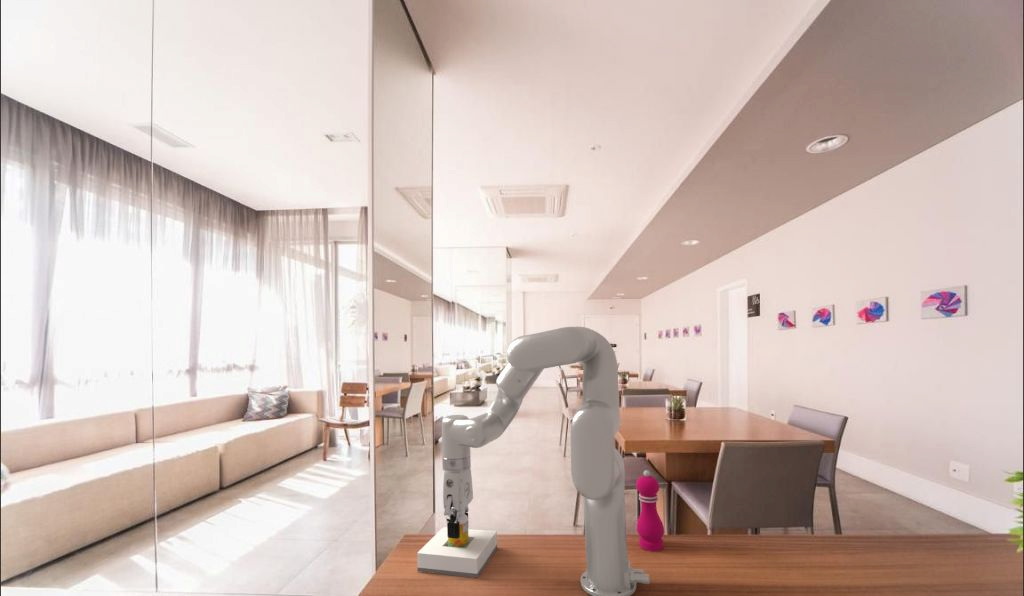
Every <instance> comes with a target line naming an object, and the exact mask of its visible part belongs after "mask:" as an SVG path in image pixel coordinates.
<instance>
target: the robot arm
mask: <svg viewBox="0 0 1024 596" xmlns="http://www.w3.org/2000/svg"><path fill="white" fill-rule="evenodd" d="M508 345H509V346H508V348H507V351H506V352H507V353H506V356H507V357H506V358H507V361H508V362H507V363H506V364H505V366H504V368H503V369H502V370H501V372H500V373H499V375H498V376H497V377H496V380H495V385H496V387H497V388H498V391H497V395H496V396H495V398H494V400H493V402H492V403H491V405H490V406H489V408H488V409H487V410H486V411H485V412H484V413H483V414H480V415H477V416H475V417H471V418H469V417H468V416H467V415H464V414H452V415H447V416H445V417H443V418H442V420H441V448H442V449H441V450H442V452H441V453H442V455H441V456H442V457H441V459H442V460H441V461H442V471H444V472H443V485H442V486H443V487H442V489H443V491H442V498H443V499H442V500H443V501H442V505H443V509H444V511H443V516H444V517H445V519H446V523H447V524H446V527H447V535H448V538H455V539H458V538H459V537H460V526H459V522H458V515H459V512H461V511H462V510H463V509H464V508H465V515H467V517H468V518H469V510H470V509H469V505H470V503H471V502H472V500H473V499H474V492H473V490H474V489H473V479H472V477H473V476H472V470H471V467H472V464H471V461H472V460H471V448H474V449H478V448H482V447H484V446H486V445H488V444H489V443H492V442H493V441H495V440H497V439H499V438H500V437H501V436H502V435H503V434H504V433H505V432H506V430H507V428H508V427H510V426H509V425H510V424H511V423H512V422H513V421H514V419H515V417H516V415H518V414H517V413H518V412H519V410H520V408H521V406H522V404H523V401H524V398H525V397H526V395H527V394H528V392H529V391H530V389H531V388H532V387H533V385H534V383H535V382H536V381H537V380H538V378H539V376H540V375H541V374H542V372H543V371H544V369H550V368H555V367H561V366H566V365H572V364H573V365H574V364H576V363H581V365H582V381H581V383H582V384H581V385H582V403H581V406H580V407H578V409H577V410H576V412H574V414H573V416H572V419H571V423H570V424H571V425H570V472H571V480H572V483H573V486H574V488H575V489H576V491H577V492H578V493H579V495H581V496H582V497H583V518H584V520H583V522H584V535H585V536H584V539H585V543H584V544H585V557H586V558H585V559H586V562H585V563H586V570H585V571H584V572H583V573H582V574H581V576H580V586H581V588H582V589H583V591H584V592H585V593H587V594H588V595H590V596H632V595H633V594H635V592H636V591H637V583H638V584H639V583H641V584H644V585H650V582H651V581H650V574H649V573H644V571H645V570H644V569H642V568H634V567H631V560H629V555H628V554H629V551H628V539H627V521H626V502H625V501H626V497H625V494H626V492H625V490H626V489H625V488H626V487H625V482H626V480H625V479H626V477H625V476H626V475H625V473H626V470H625V469H626V468H625V463H624V459H623V457H622V454H621V453H620V452H619V450H618V449H617V448H616V447H615V437H616V434H617V433H618V432H619V429H620V427H621V413H620V388H619V371H618V369H619V368H618V360H617V356H616V352H615V351H614V348H613V346H612V345H611V343H610V342H609V341H608V340H607V338H606V337H605V336H604V335H602V334H601V333H600V332H597V331H596V330H594V329H591V328H588V327H584V326H564V327H560V328H555V329H550V330H545V331H541V332H538V333H537V332H535V333H532V334H525V335H521V336H518V337H516V338H514V339H513V340H512V341H511V343H509V344H508ZM452 507H454V508H455V509H452ZM451 512H455V516H454V515H453V514H452V513H451Z"/></svg>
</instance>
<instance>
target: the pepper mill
mask: <svg viewBox="0 0 1024 596" xmlns="http://www.w3.org/2000/svg"><path fill="white" fill-rule="evenodd" d="M635 483H636V485H635V487H636V490H637V491H638V492H639V494H638V500H639V501H640V505H641V509H640V514H639V517H638V519H637V523H636V532H637V533H638V536H639V537H638V542H639V547H640V549H643V550H645V551H648V552H649V551H650V552H659V551H661V550H663V549H664V540H663V538H662V537H663V536H664V534H665V526H664V524H663V520H662V519H661V517H660V514H659V513H658V510H657V502H658V501H659V498H658V497H659V496H658V494H657V493H659V490H660V485H659V482H658V480H657V478H656V477H653V476H652V475H651V472H650V471H649V470H647V469H646V470H644V471H643V475H641V476H640V477H638V479H637V480H636V482H635Z"/></svg>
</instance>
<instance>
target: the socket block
mask: <svg viewBox="0 0 1024 596" xmlns="http://www.w3.org/2000/svg"><path fill="white" fill-rule="evenodd" d="M497 533H498V532H497V531H496V530H485V529H476V528H475V529H471V528H468V540H469V543H468V546H467V547H466V548H456V547H448V535H447V526H443V527H442V528H441V529H440V530H439V531H437V533H436V534H435V535H433V537H432V538H431V539H430V540H428V541H427V542H426V544H424V546H423V547H421V548H420V549H419V550H418V552H416V553H417V555H416V557H417V558H416V559H417V572H418V571H422V572H421V573H425V572H431V573H430V574H435V573H438V575H444V574H445V576H455V577H464V578H471V577H473V578H472V579H478V578H479V577H480V575H481V573H482V572H483V570H484V569H485V568H486V566H487V564H488V563H489V561H490V560H491V558H492V557H493V555H494V554H495V552H496V551H497V549H498V534H497ZM432 572H433V573H432ZM478 576H479V577H478Z"/></svg>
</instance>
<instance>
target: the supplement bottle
mask: <svg viewBox="0 0 1024 596" xmlns="http://www.w3.org/2000/svg"><path fill="white" fill-rule="evenodd" d="M452 509H455V508H454V507H452ZM451 513H452V514H453V515H454V516H455V512H451ZM458 522H459V526H460V537H459V538H458V539H455V538H448V547H456V548H466V547H467V546H468V543H469V540H468V529H469V516H468V517H467V515H465V508H464V509H463V510H462V511H461V512H459V515H458Z"/></svg>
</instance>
